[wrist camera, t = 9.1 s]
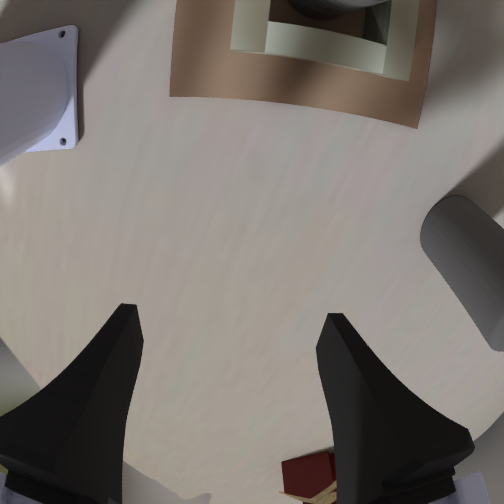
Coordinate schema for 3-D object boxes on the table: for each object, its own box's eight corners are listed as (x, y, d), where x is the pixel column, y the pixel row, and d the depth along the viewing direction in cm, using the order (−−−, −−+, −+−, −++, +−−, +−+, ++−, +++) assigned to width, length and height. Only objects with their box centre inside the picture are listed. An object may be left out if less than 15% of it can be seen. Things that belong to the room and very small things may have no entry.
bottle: (460, 179, 20) (600, 315, 7) (483, 226, 22) (589, 352, 10) (407, 229, 22) (518, 396, 10) (436, 269, 24) (524, 413, 12)
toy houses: (266, 463, 48) (270, 513, 39) (380, 432, 44) (394, 483, 36) (324, 496, 71) (328, 524, 63) (392, 476, 67) (399, 505, 59)
